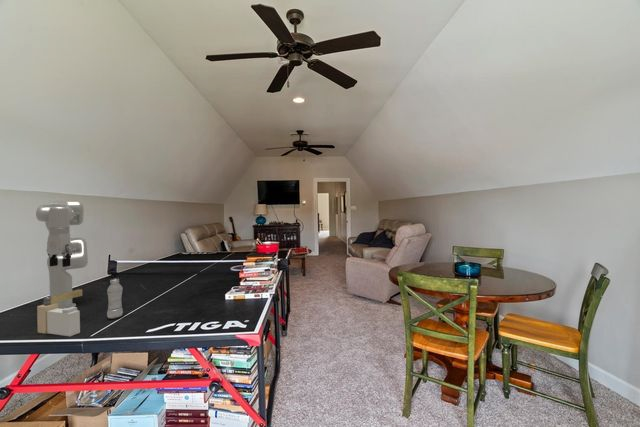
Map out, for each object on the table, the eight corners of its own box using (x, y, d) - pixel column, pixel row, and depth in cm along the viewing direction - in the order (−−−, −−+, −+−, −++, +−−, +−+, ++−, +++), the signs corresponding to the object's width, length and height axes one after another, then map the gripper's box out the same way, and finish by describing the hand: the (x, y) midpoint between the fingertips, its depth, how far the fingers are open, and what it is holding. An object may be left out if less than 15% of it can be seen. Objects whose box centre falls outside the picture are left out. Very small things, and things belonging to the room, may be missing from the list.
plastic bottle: (112, 315, 147) (111, 278, 147) (125, 315, 147) (125, 277, 147) (103, 320, 140) (103, 280, 140) (118, 319, 141) (117, 280, 141)
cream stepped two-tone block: (37, 332, 127) (37, 306, 127) (50, 328, 132) (50, 302, 132) (68, 336, 122) (68, 309, 122) (81, 332, 126) (80, 305, 126)
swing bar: (46, 305, 127) (46, 298, 127) (42, 305, 128) (42, 298, 128) (82, 295, 142) (82, 289, 142) (78, 295, 142) (78, 289, 142)
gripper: (38, 231, 138) (38, 267, 138) (63, 231, 133) (64, 268, 133) (55, 230, 145) (56, 264, 145) (80, 230, 140) (81, 265, 140)
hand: (60, 266), depth 139 cm, fingers open, 8 cm apart
